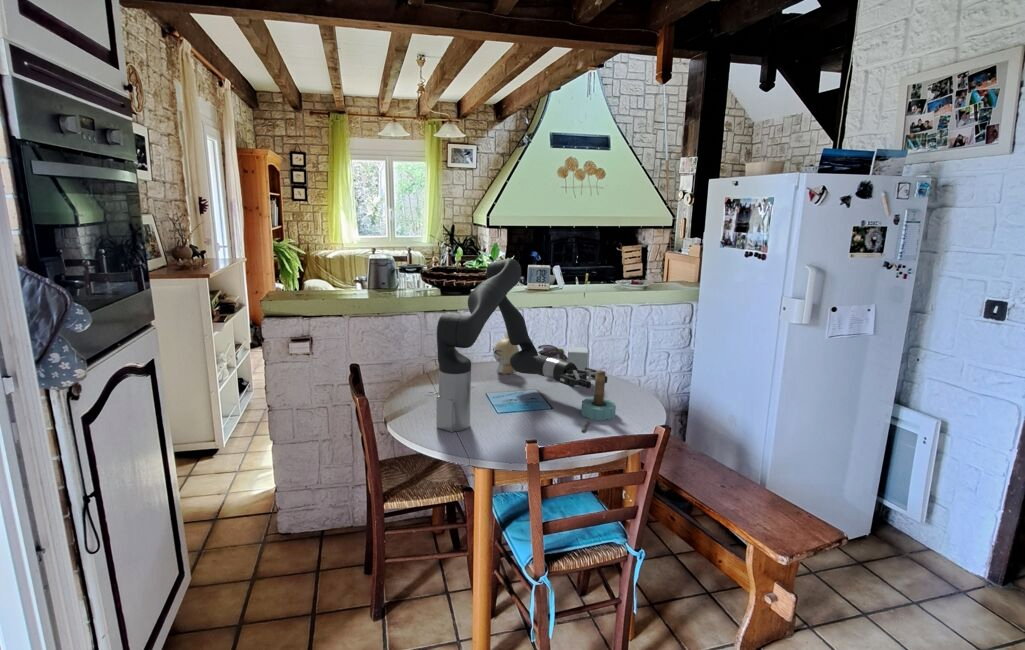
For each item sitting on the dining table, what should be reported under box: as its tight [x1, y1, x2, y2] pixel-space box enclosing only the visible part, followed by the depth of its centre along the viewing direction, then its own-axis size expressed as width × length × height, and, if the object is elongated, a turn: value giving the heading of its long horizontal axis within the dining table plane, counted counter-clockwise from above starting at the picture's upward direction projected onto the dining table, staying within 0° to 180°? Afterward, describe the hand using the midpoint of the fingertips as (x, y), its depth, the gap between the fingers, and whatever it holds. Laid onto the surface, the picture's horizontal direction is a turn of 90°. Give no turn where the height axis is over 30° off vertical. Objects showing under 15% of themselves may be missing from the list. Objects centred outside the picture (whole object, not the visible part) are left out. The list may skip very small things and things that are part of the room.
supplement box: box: [567, 346, 589, 370], centre depth 207 cm, size 7×7×13 cm
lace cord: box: [581, 419, 591, 433], centre depth 167 cm, size 8×1×1 cm, turn 160°
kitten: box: [492, 332, 520, 375], centre depth 216 cm, size 15×10×15 cm
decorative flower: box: [537, 344, 568, 361], centre depth 219 cm, size 15×12×15 cm
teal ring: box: [580, 397, 617, 421], centre depth 177 cm, size 10×10×4 cm
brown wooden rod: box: [593, 370, 606, 407], centre depth 176 cm, size 3×3×14 cm
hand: (598, 382), depth 176 cm, fingers open, 8 cm apart
